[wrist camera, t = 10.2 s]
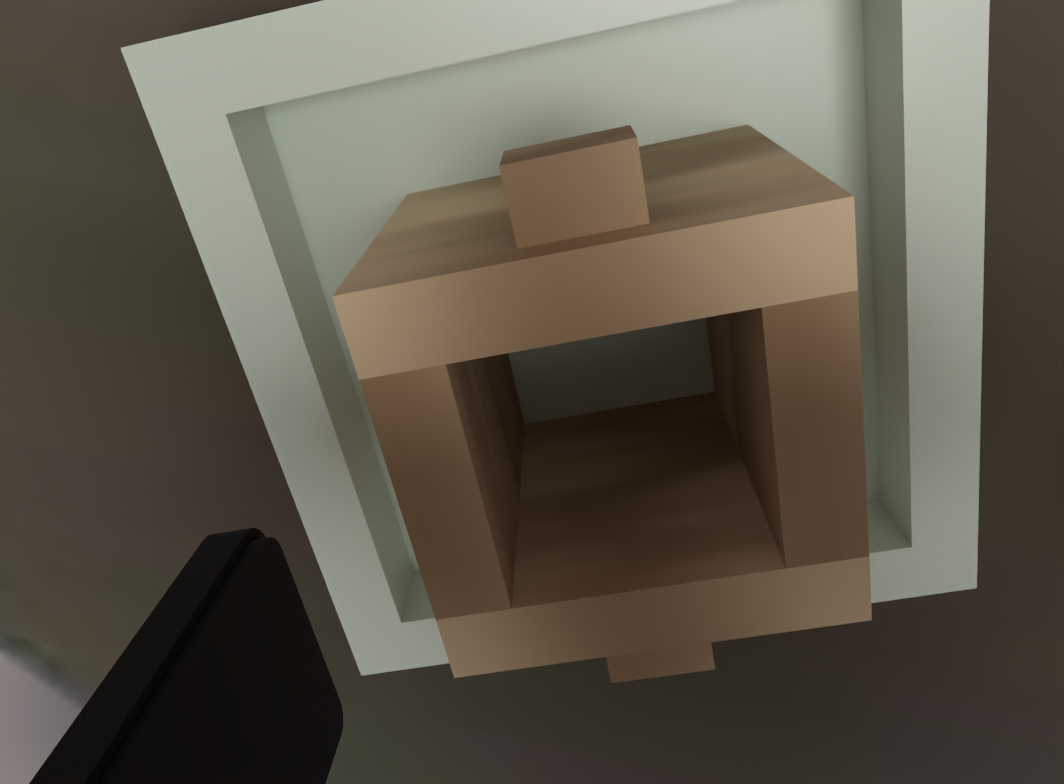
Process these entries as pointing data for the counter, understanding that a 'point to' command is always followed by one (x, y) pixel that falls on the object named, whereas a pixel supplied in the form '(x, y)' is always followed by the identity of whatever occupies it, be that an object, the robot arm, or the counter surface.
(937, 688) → the counter surface
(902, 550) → the tray
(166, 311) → the counter surface
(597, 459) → the ring
